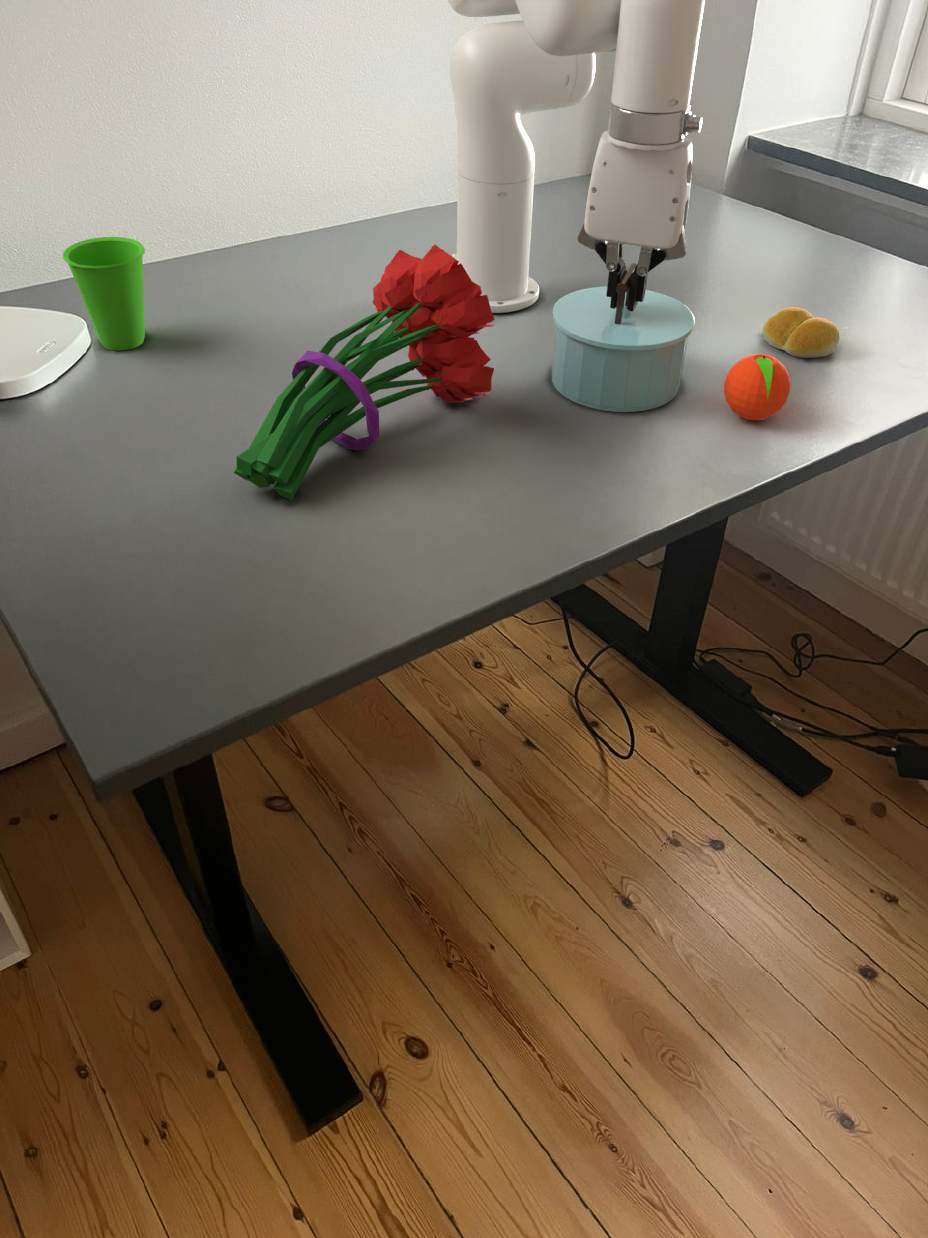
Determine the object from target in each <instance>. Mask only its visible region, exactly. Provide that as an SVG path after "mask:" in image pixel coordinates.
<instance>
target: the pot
mask: <svg viewBox="0 0 928 1238" xmlns="http://www.w3.org/2000/svg"><path fill="white" fill-rule="evenodd" d="M688 341H689V336H688V337H687V338H686V339H684V340H683V341H681V342H679V343H677V344H674V345H671V346H668V347H664V348H659V349H652V350H638V351H631V350H615V349H608V348H602V347H597V346H594V345H590V344H587V343H584V342H581V341H578V340H576V339H574V338H572V337H570V336H568V335H566V334H565V333H563V332H562V331H561V330H560V329H559V328H558V327H557V326H556V325H555V324H554V332H553V343H552V345H553V346H552V357H551V370H550V371H551V382H552V385H553V387H554V388H555V390H556V391H557V392H558V393H559V394H560V395H562V396H563V397H564V398H566V399H567V400H569V401H570V402H573V403H575V404H578V405H581V406H582V407H587V408H590V409H594V410H599V411H604V412H612V413H635V412H636V413H637V412H644V411H649V410H653V409H657V408H659V407H662V406H664V405H666V404H669V402H671V401H673V400H674V398H675V397H676V395H677V394H678V392H679V387H680V385H681V381H682V375H683V369H684V364H685V359H686V351H687V346H688Z"/></svg>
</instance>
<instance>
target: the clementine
mask: <svg viewBox="0 0 928 1238" xmlns="http://www.w3.org/2000/svg"><path fill="white" fill-rule="evenodd" d="M723 385H724V386H723V394H724V399H725V402H726V403H727V405H728V407H729V408H730V410H731V412H734V414H735V415H737V416H738V417H740V418H742V419H745V420H748V421H749V420H750V421H761V420H764V419H768V418H770V417H772V416H774V415H776V414H777V413H778V412H779V411H781V410H782V408H783V407H784V406H785V405H786V403H787V401H788V397H789V396H790V394H791V386H792V383H791V378H790V374H789V371H788V370H787V368H786V366H785V365H784V364H783V363H782V362H781V361H780V360H778V359H777V358H776V357H774V356H773V355H769V354H766V353H765V354H764V353H754V354H751V355H748V356H745V357H743V358H740V360H738V361H737V362H735V364H733V366H732V367H731V368H730V369H729V371H728V372H727V374H726V376H725V380H724V384H723Z"/></svg>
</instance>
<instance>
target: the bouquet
mask: <svg viewBox="0 0 928 1238" xmlns="http://www.w3.org/2000/svg"><path fill="white" fill-rule="evenodd" d="M458 263H459V261H458V260H456V259H455V258H454V257H452V254H449V253H448V252H447V251H445V250H444V249H442V248H441V247H439V246H438V245H437V244H433V245H432V246H431V248H430V249H429V250H428V251H427V253H426V254H425V255H424V256H423V257H422V258H420V257H417V256H414V255H412V254H409V253H407V252H405V251H404V250H402V249H398V251H397V252H396V253H395V254H394V256H393V258H392V259H391V260H390V262H389V263H388V264H387V265H386V266H385V267H384V270H383V271H384V272H383V274H382V275H381V278H380V281H379V282H378V283H376V285H375V286H374V287H372V294H373V300H372V304H373V306H374V307H375V309H376V312H375V313H373V314H370V315H369V316H366V317H364V318H362V319H361V320H358V321H357V322H356V323H354V324H352V325H350V326H348V327H346V328H345V329H344V330H342V331H339V332H338V333H336V334H334V335H333V336H331V337H330V338H329V340H328V341H326V343H325V344H324V345H323V346H322V347H321V348H320V349H319V351H313V350H306V351H305V352H304V353H303V355H301V357H300V358H299V359H298V360H297V361H296V362H295V363H294V364H293V366H292V371H291V377H292V381H290V383H289V384H288V385H287V386H286V387H285V388H284V389H283V391H282V392H281V393H280V394H279V395H278V396H277V397H276V400H275V401H274V403H273V404H272V406H271V408H270V410H269V411H268V414H267V415H266V417H265V419H264V421H263V422H262V424H261V425H260V428H259V429H258V431H257V433H256V434H255V436H254V438H253V440H252V442H251V443H250V446H249V447H248V449H245V450H244V451H243V452H241V453H240V454H238V455H237V456H236V468H235V470H234V471H233V473H234V474H235V475H237V476H238V477H240V478H242V479H243V480H245V481H248V482H250V483H252V484H253V485H255V486H256V487H258V488H260V489H262V488H269V487H270V486H271V485H273V489H274V490H275V491H276V492H277V494H278V495H279V496H281V497H283V498H284V499H287V500H290V501H292V500H293V499H294V497H295V495H296V493H297V491H298V490H299V487H300V485H301V483H302V481H303V480H304V479H305V477H306V473H307V472H308V471H309V468H310V467H311V464H312V463H313V460H314V459H315V457H316V456H317V453H318V451H319V449H320V448H322V447H323V446H324V445H326V444H327V443H329V442H330V441H332V440H333V441H335V442H336V443H338V444H340V445H341V446H343V447H344V448H346V449H349V450H354V451H355V450H356V451H361V450H366V449H369V448H371V447H372V446H373V445H374V444H375V443H376V442H377V440H378V439H379V437H380V435H381V434H380V433H381V432H380V411H379V409H380V408H383V407H385V406H388V405H390V404H392V403H395V402H399V400H403V399H405V398H407V397H411V396H413V395H415V394H418V393H421V392H425V391H429V390H431V392H432V393H433V394H434V396H435V397H436V399H441V400H442V401H444V402H445V403H463V402H465V401H471V400H474V399H473V398H476V397H479V396H481V397H487V398H488V395H486V394H485V393H491V391H492V378H493V375H494V372H495V368H494V367H490V366H486V365H487V364H488V363H489V362H491V358H490V357H489V356H488V355H487V353H486V352H485V351H484V350H483V349H482V347H481V346H480V344H479V341H478V340H476V339H475V337H471V336H472V335H477V334H480V332H479V331H481V330H482V329H484V328H490V327H495V325H494V324H490V323H492V322H494V321H495V317H494V313H492V311H491V308H490V304H489V300H488V296H487V295H483V296H480V295H481V294H482V291H481V286H479V285H477V284H476V283H474V282H472V281H471V279H470V277H469V275H468V274H467V272H466V270H465V269H464V267H463V266H462V264H458ZM457 264H458V265H457ZM384 318H386V319H384ZM383 319H384V320H383ZM390 323H391V324H390ZM388 324H390V325H388ZM387 325H388V327H386V328H385V329H384V330H383V332H381V333H380V334H379V335H378V336H377V337H376V338H375V339H373V340H370V341H368V342H366V343H365V341H366V340H367V338H368V337H369V336H370V335H372V334H373V333H375V332H377V331H378V330H380V329H382V328H383V327H385V326H387ZM363 328H364V329H363ZM361 329H363V330H362V331H361V332H359V333H357V332H358V331H360V330H361ZM355 333H357V334H355ZM353 334H355V335H354V336H353V337H351V339H350V340H349V341H348V342H347V343H346V344H345V345H344V346H343V347H342V348H341V349H340V350H339V351H338V352H337V354H336V355H335V356H333V357H331V356H330V355H329V354H330V353H331V352H332V351H333V349H334V348H335V347H336V345H337V344H338V343H340V342H342V341H344V340H345V339H347V338H348V337H349V336H351V335H353ZM363 343H364V344H363ZM407 347H408V352H407V354H408V355H407V357H408V360H409V361H407V362H405V363H402V364H399V365H396V366H394V367H392V368H389V369H387V370H385V371H383V372H381V373H378V374H377V375H375V376H373V377H371V378H368V379H367V380H364V381H362V379H363V378H364V377H365V376H366V375H367V374H368V373H369V372H370V371H371V369H372V368H374V367H375V365H376V364H377V363H378V362H379V361H382V360H384V359H385V358H388V357H389V356H391V355H392V354H395V353H397V352H399V351H400V350H402V349H404V348H407ZM355 358H356V359H355ZM353 359H354V360H353ZM352 360H353V361H352ZM350 361H351V362H350ZM348 362H350V363H348ZM347 363H348V364H347ZM320 367H324V368H322V370H321V371H320V372H319V373H318V374H317V375H316V376H315V377H314V378H313V379H312V380H311V381H310V379H311V378H312V377H313V376H314V374H315V373H316V372H317V370H318V369H319V368H320ZM415 369H416V371H417V372H418V373H419V374H420V375H421V376H422V377H424V378H421V379H419V378H418V379H406V380H405V379H403V380H395V379H398V378H399V377H402V376H403V375H405V374H408V373H409V372H414V371H415ZM309 381H310V382H309ZM424 384H426V385H424ZM416 385H423V386H416ZM409 386H416V387H411V388H407V389H403V390H401V391H398V392H395V393H392V394H389V395H387V396H385V397H381V398H379V399H376V400H373V397H372V396H371V395H372V394H375V393H377V392H378V391H380V390H387V389H394V388H402V387H409ZM360 403H361V405H362V406H361V407H359V408H358V409H356V410H355V408H356V407H357V406H358V405H359V404H360ZM354 410H355V411H354ZM363 418H365V421H366V426H367V435H368V436H364V437H360V438H356V437H354V436H352V435H349V434H347V433H345V431H347V430H348V429H349V428H351V427H352V426H354V425H355V424H357V423H358V422H359V421H360V420H362V419H363Z"/></svg>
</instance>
